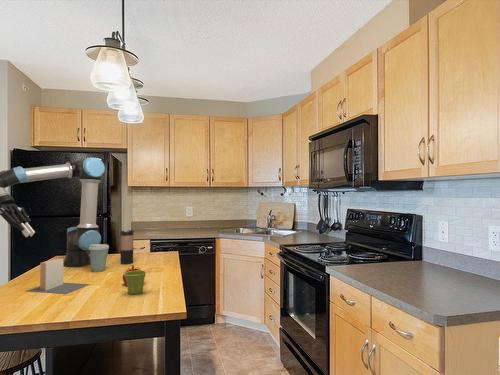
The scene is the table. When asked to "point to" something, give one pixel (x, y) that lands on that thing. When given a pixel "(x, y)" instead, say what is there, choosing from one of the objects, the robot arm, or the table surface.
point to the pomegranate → (129, 271)
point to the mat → (60, 288)
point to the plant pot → (135, 281)
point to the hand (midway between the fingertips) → (30, 234)
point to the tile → (51, 274)
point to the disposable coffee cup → (98, 256)
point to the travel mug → (126, 247)
